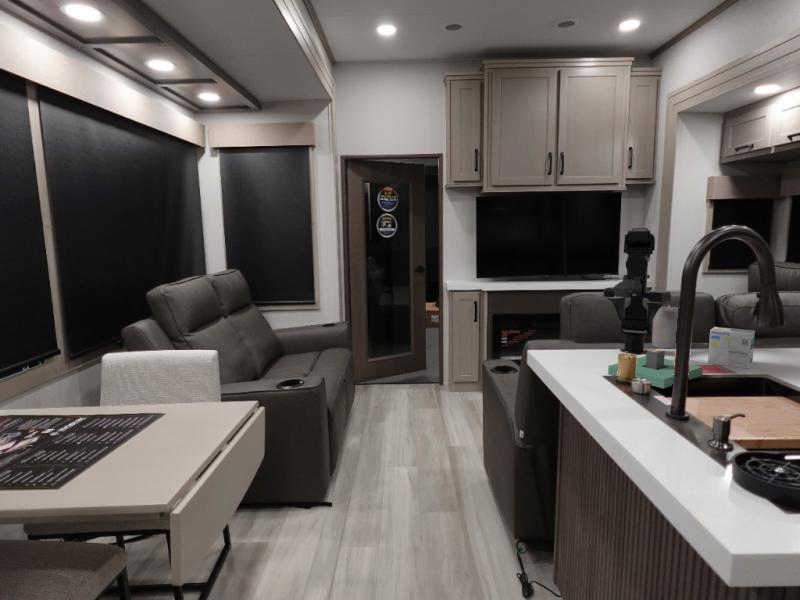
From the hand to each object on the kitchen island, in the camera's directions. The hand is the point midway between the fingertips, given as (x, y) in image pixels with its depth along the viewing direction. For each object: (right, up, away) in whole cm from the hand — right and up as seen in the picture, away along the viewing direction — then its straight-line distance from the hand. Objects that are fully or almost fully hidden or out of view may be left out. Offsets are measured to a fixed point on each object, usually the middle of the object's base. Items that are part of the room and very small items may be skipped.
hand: (634, 322), depth 147 cm
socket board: (0, -15, -11) cm, 18 cm away
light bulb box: (+28, -13, -2) cm, 31 cm away
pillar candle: (+23, -10, +23) cm, 34 cm away
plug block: (0, -15, -11) cm, 18 cm away
